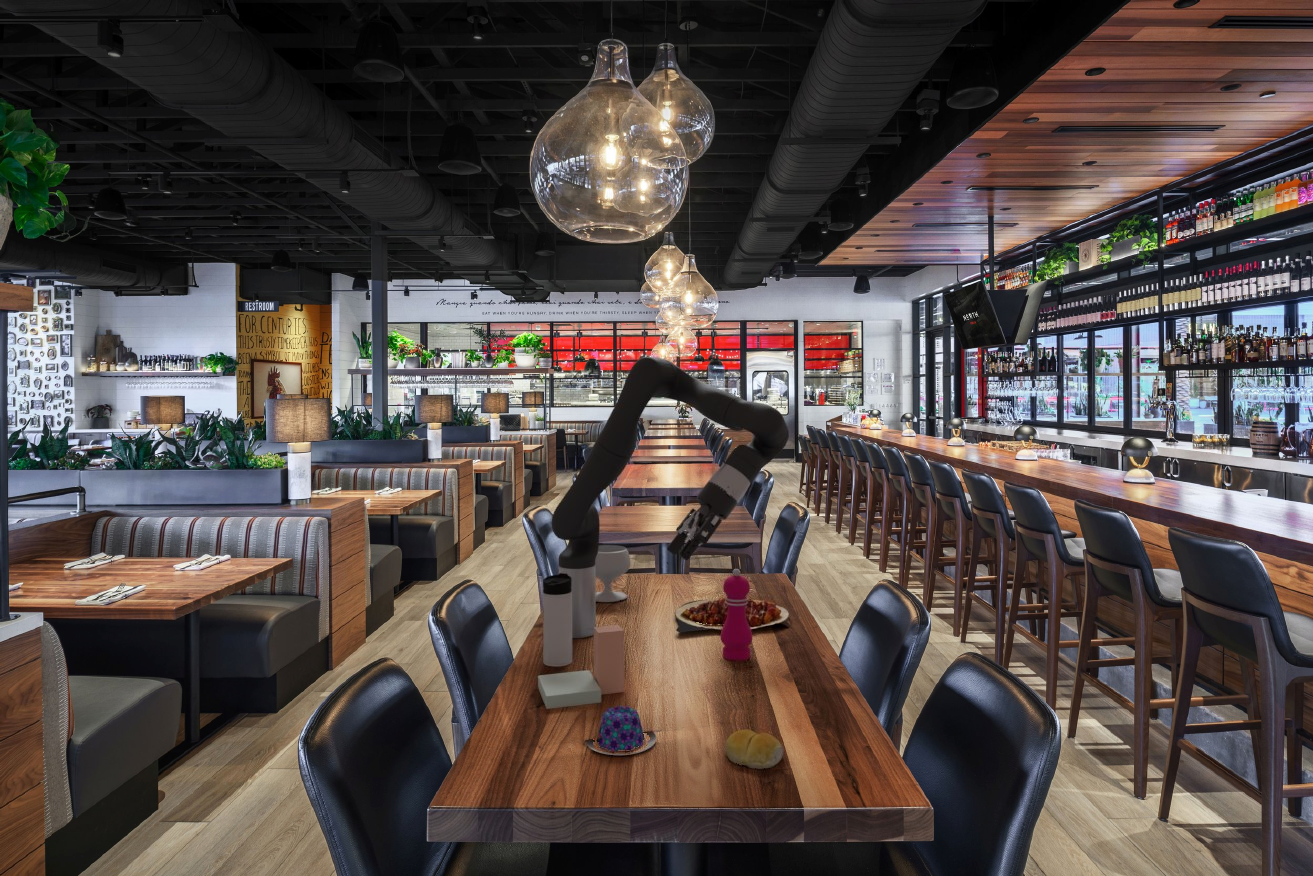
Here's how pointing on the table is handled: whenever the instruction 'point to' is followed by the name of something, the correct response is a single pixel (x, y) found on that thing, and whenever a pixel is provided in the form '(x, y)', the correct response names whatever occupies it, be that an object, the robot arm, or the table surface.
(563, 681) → the ticket board
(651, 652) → the table surface
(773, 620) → the plate of glazed chicken
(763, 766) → the bread roll
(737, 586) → the pepper mill
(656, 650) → the table surface
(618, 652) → the stub
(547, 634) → the travel mug
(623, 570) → the chalice
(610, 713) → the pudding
